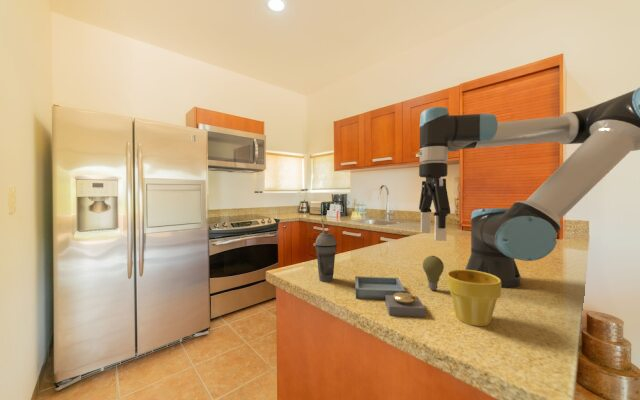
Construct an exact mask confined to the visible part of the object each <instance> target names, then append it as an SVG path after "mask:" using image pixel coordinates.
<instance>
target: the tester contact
mask: <svg viewBox="0 0 640 400" xmlns="http://www.w3.org/2000/svg"><path fill="white" fill-rule="evenodd" d="M413 295H414V294H411V293H408V292H406V293H403V292H399V293H395V294H394V295H393V298H394V300H396V301H398V302H402V303H412V302H414V301H415V297H414V296H413Z"/></svg>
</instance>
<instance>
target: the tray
mask: <svg viewBox="0 0 640 400" xmlns="http://www.w3.org/2000/svg"><path fill="white" fill-rule="evenodd" d="M354 277H355V278H354V285H355V286H354V287H355V299H362V300H363V299H365V300H384V301H385V295H394V294H395V293H399V292H403V293H407V290H406V289H405V287H404V285H403V283H402V282H401V281H400V280H401V279H399V277H385V276H359V275H355V276H354Z"/></svg>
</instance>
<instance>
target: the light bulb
mask: <svg viewBox="0 0 640 400" xmlns="http://www.w3.org/2000/svg"><path fill="white" fill-rule="evenodd" d="M444 267H445V266H444V263H443V261H442V259H441V258H439V257H438V256H436V255H428V256H427V257H426V258H424V260H423V262H422V269H423V270H424V273H425V275H426V278H427V279H426V280H427V282H428V289H429V290H431V291H436V290H437V289H438V284H439V283H438V282H440V277H441V275H443V271H444Z"/></svg>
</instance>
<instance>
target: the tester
mask: <svg viewBox="0 0 640 400" xmlns="http://www.w3.org/2000/svg"><path fill="white" fill-rule="evenodd" d="M412 295H413V296H414V297H415V301H414V302H412V303H402V302H398V301H396V300H394V298H393V295H385V300H384V303H385V306H386V309H387V312H388V315H389V316H393V317H394V316H395V317H396V316H398V317H419V318H426V307H425V306H424V304H423V303H422V301H421V299H420V298H419V296H418V295H416V294H412Z"/></svg>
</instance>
